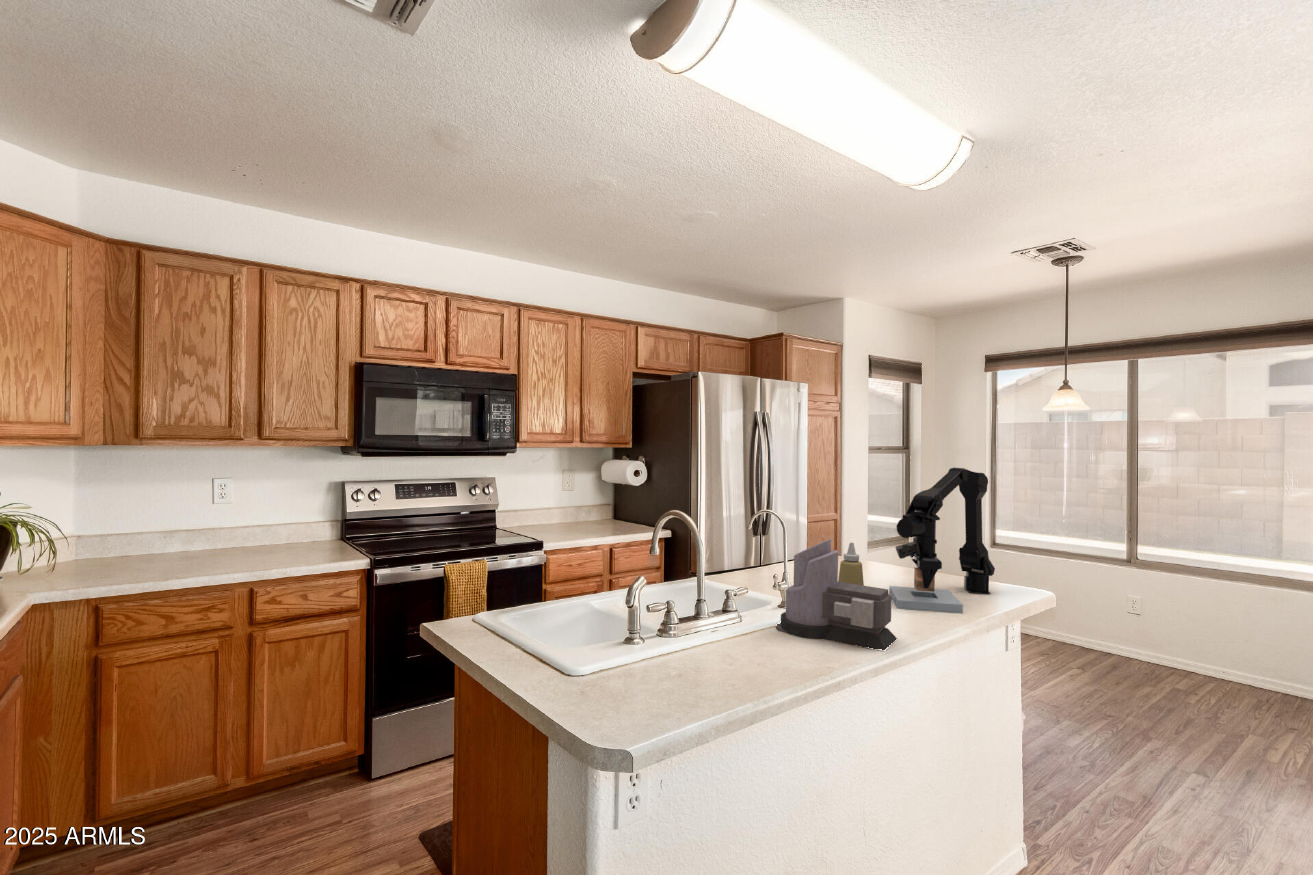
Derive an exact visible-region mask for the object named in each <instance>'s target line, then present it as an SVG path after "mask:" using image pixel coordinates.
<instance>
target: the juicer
mask: <svg viewBox="0 0 1313 875" xmlns="http://www.w3.org/2000/svg"><path fill="white" fill-rule="evenodd" d="M838 572H839V551H838V550H836V549H835V550H832V539H831V538H827V539H826V540H824V541H822V542H819V543H817V544H815V545H813V546H810V547H809V548H806V549H804V550H802V551H800V552H798V553H796V554H794V556H793V584H792V585H790V586H788V587H787V588H786V590H785V592H786V593H785V611H784V612H782V613H780V621H781V623H780V624H777V623H776V624H777V626H774V628H775V630H777V631H778V632H782V633H785V634H788V635H792V636H795V637H797V638H803V639H809V640H810V639H811V640H826V641H831V642H836V643H841V644H845V643H846V644H845V645H850V646H855V645H857V646H856V647H859V646H861V648H864V647H869V648H873V649H872V650H874V649H882V650H885V649H886V648H887V647H889V645H891V643H893V642H894V641H895V640H896V639H897V640H898V638H897V637H896V635H894V633H893V632H891V630H890V629H889V628H888V627H886V626H887V625H888V624H889V623H891V622H892V601H893V600H892V596H891V595H890V594H889V589H888V588H883V587H882V588H880V587H875V586H868V585H864V586H863V585H856V584H850V583H843V582H838V579H839V573H838ZM897 640H896V641H897ZM896 641H895V642H896ZM895 642H894V643H895ZM894 643H893V644H894ZM891 646H892V645H891ZM869 648H868V649H869ZM889 648H890V647H889Z"/></svg>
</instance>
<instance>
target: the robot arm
mask: <svg viewBox="0 0 1313 875" xmlns="http://www.w3.org/2000/svg"><path fill="white" fill-rule="evenodd" d="M988 484H989V479H988V476H987V475H986V474H985V473H984V472H976V471H972V470H968V469H967V468H964V467H950V468H949V470H948V471H947V473H945V475H943V476H942V477H941V478H940V479H939V480H938V481H937V482H936V483H935V484H934V485H933V486H931V487H930V488H929V489H925V490H921V491H919V492H917V494H915V495H914V496H913V497H912V499H911V502H910V504H909V506H908V508H907V511H906V512H905V514H902V518H901V519H900V520H898V522H897V524H896V528H895V529H896V532H897V534H898V535H899V536H900V537H902V538H904V539H906V538H907V539H908V538H912V541H910V542H907V543H903V544H900V545H897V546H894V548H895V551H896V553H897V556H898V558H899V559H901V560H902V559H906V558H907V557H910V558H911V560H912V562H913V563H914V564H915V566H916V568H919V569H920V570H921V571H922V578H923V584H924V588H928V587H929V585H930V583H931V581H932V580H933V578H934V576H935V577H936V574H937V572H938V570H942V569H943V563H942V560H940V559H939V558H938V557H937V555H938V553H936V544H938V539H936V536H937V535H936V534H937V533H936V532H937V531H936V529H937V521H940V520H941V518H940V517H939V516H938V515H937V514H938V513H939V512H940V510H941V509H942V508H943V505H944V500H945V499H946V498H947V497H948V496H949V495H950V494H951V493H952V492H953V491H954V490H955V489H956V488H957V487H958V490H959V492H960V493H961V496H962V497H963V498H964V508H965V509H964V515H965V516H964V520H965V521H964V526H965V543H964V544H963V545H962V547H959V550H958V552H959V556H958V560H959V564H960V569H961V571H962V572H965V575H964V581H963V582H964V583H963V588H964V589H965V590H966V591H967V592H968V593H969V594H982V595H983V594H984V595H987V594H988V595H991V592H990V590H989V589H990V577H992V576H994V574H995V570H996V568H995V566H994V565H993V563H992V561H991V560H990V556H989V550H988V549H987V548H986V546H985V544H984V543H983V507H982V506H983V504H982V502H983V501H982V500H983V498H984V496H985V495H986V493H987V492H988Z"/></svg>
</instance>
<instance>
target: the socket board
mask: <svg viewBox="0 0 1313 875" xmlns="http://www.w3.org/2000/svg"><path fill="white" fill-rule="evenodd" d="M888 586H889V589H888V594H889V595H891V596H892V601H893V603H894V605H895V607H896V609H899V610H914V611H925V612H926V611H929V612H940V613H954V614H955V613H956V614H964V612H963V609H964V607H963V606H964V604H963V603H962V602H961V601H960V600H959V599H958V597H956V596H955V595H954V594H953V593H952V591H951V590H950V589H946V588H945V589H942V588H935V590H934V592H932V591H917V590H916V589H915V587H913V586H897V585H888Z"/></svg>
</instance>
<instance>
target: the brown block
mask: <svg viewBox="0 0 1313 875" xmlns="http://www.w3.org/2000/svg"><path fill="white" fill-rule="evenodd" d="M913 575H914V576H913V577H914V578H913V586H914V587H915V589H916V590H917V591H932V592H934V590H935V589H936V588H935V579H936V578H935V577H936V575H935V576H934V578H933V580H932V581H931V583H930V585H929V587H928V588H924V584H923V578H922V571H921V570H920V569H919V568H917V567H914V574H913Z"/></svg>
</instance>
